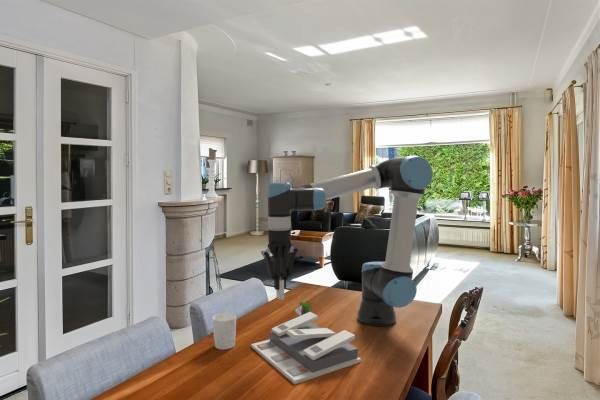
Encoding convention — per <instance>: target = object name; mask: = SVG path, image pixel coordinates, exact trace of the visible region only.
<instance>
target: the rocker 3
mask: <svg viewBox="0 0 600 400" xmlns="http://www.w3.org/2000/svg"><path fill="white" fill-rule="evenodd" d="M355 339H356V335H355V334H353V333H352V332H349V331H347V330H346V329H344V330H342V331H340V332H338V333H336V334H335V335H333V336H331V337H329V338H327V339H325V340H323V341H321V342H319V343H317V344H315V345H313V346H311V347H309V348H307V349H305V350H303V352H304V354H305V355H306V356H308V357H309V358H310V359H312V360H315V359H317V358H319V357H321V356H323V355H325V354H327V353H329V352H331V351H333V350H335V349H336V348H338V347H340V346H342V345H344V344H346V343H350V342H352V341H354V340H355Z"/></svg>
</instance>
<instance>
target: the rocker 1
mask: <svg viewBox="0 0 600 400" xmlns="http://www.w3.org/2000/svg"><path fill="white" fill-rule="evenodd" d="M317 320H319V316H318V315H317V314H315V313H313V311H309V312H308V313H306V314H304V315H301V316H299V317H298V316H297V317H295V318H293V319H290V320H287V321H285V322H283V323H281V324H279V325H277V326H274V327H272V328H271V332H274V333H275V334H276V335H278V336H279V337H280V336H282V335H284V334H286V333H287V330H295V329H297V328H300V327H302V326H304V325H306V324H308V323H311V322H312V323H314V322H315V321H317Z"/></svg>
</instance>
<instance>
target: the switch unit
mask: <svg viewBox="0 0 600 400" xmlns="http://www.w3.org/2000/svg"><path fill="white" fill-rule="evenodd" d="M317 328H321V326H318V325H317V324H315V323H314V322H311V323H308V324H306V325H304V326H302V327H300V328H297V329H317ZM295 330H296V329H295ZM327 338H329V337H320V338H305V339H294V338H292V337H291V336H289V335H288V334H284V335H282V336H280V337H279V336H278V335H276V334H275V333H274V332H272V331H270V332H269V339H266V340H262V341H258V342H255V343H251V345H250V347H251V348H252V349H253V350H254V351H255V352H256V353H258V354H259V355H260V356H261V357H262V358H263V359H264V360H266V361H267V362H268V363H269V364H271V365H272V367H274V368H275V369H276V370H278V371H279V372H280V373H281V374H282V375H283V376H284V377H285V378H287V379H288V380H289V381H290V382H291V383H293V384H294V385H297V384H299V383H302V382H305V381H309V380H311V379H314V378H318V377H321V376H323V375H326V374H328V373H332V372H336V371H338V370H341V369H344V368H347V367H349V366H353V365H355V364H358V363H362V358H361V357H359V356H358V355H359V354H358V353H359V351H358V347H356V346H354V345H352V344H350V342H348V343H346V344H344V345H342V346H340V347H338V348H336V349H335V350H333V351H331V352H329V353H327V354H325V355H323V356H321V357H319V358H317V359H315V360H312V359H310V358H309V357H308V356H306V355H305V354H304V352H303V350H305V349H307V348H309V347H311V346H313V345H315V344H317V343H319V342H321V341H323V340H325V339H327Z"/></svg>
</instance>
